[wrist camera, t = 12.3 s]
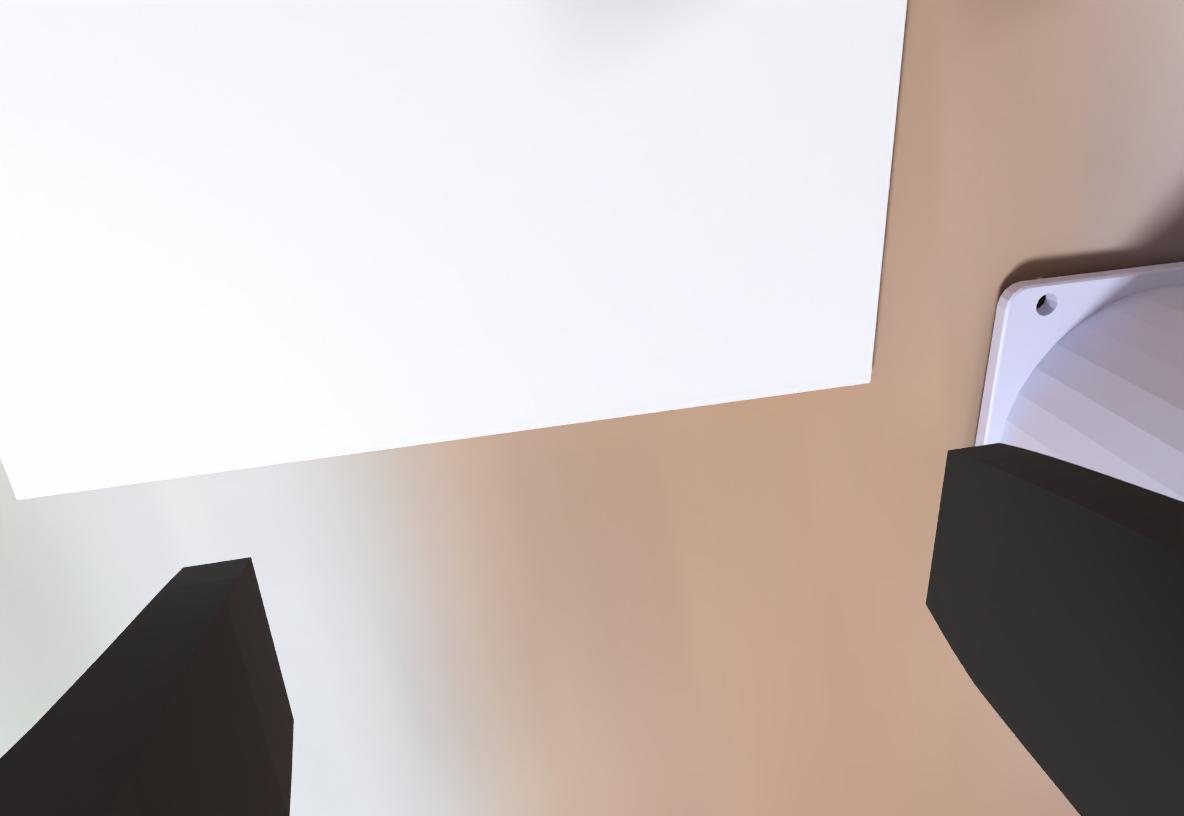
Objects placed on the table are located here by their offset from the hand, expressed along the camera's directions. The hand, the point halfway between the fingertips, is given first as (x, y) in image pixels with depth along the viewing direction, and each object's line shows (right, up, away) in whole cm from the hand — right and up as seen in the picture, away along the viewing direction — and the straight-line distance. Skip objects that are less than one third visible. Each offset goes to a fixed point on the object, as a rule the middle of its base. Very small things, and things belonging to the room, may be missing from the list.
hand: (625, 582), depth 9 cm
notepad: (-3, +7, +7) cm, 10 cm away
